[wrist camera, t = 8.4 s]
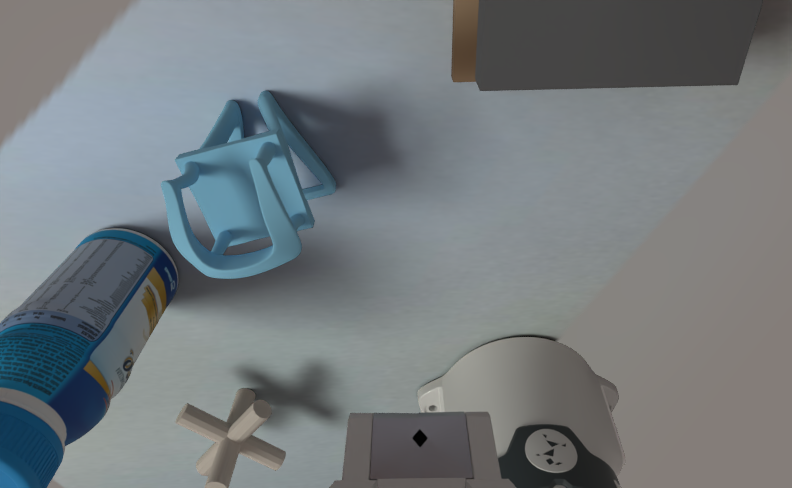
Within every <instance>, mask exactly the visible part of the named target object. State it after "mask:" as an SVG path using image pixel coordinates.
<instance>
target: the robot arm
mask: <svg viewBox="0 0 792 488" xmlns="http://www.w3.org/2000/svg"><path fill="white" fill-rule="evenodd" d="M417 396H418V402H419V406H420V409H421V413H350V416H349V419H348V427H347V436H346V446H345V456H344V465H343V475H342V480H337V481H334V483H333V484H332V485H331V486H330V487H329V488H622V487H621V486H620V484H619V481H618V479H617V476H618V475H619V473H620V471H621V469H622V466H623V465H625V455H624V451H623V449H622V445H621V442H620V439H619V436H618V432H617V429H616V427H615V423H614V420H613V417H612V414H611V412H612V411H613V409H614V407H615V405H616V403H617V401H618V399H619V396H618V392H617V389H616V387H615V385H613V384H612V383H611V382H609V381H608V380H606V379H604V378H602V377H600V376H598V375H596V374H595V373H594V372H593V371H592V370H591V368H590V367H589V365H588V364H587V362H586V361H585V360H584V359H583V358H582V357H581V356H580V355H579V354H578V353H577V352H575V351H574V350H573V349H571V348H569V347H568V346H565V345H563V344H561V343H558V342H555V341H552V340H548V339H543V338H536V337H516V338H508V339H503V340H498V341H494V342H491V343H488V344H486V345H483V346H481V347H479V348H477V349H475V350H473V351H471V352H470V353H468V354H466V355H465V356H464V357H462V358H461V359H460V360H459V361H458V362H457V363H456V364H455V365H454V366H453V367H452V368H451V369H450V370H449V371H448V372H447V373H446V374H445V375H443V376H442V377H440V378H438V379H436V380H434V381H432V382H430V383H428V384H426V385H424V386H423V387H421V388H420V389H419V391H418V393H417ZM431 405H433V406H431Z"/></svg>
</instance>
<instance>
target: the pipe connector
mask: <svg viewBox="0 0 792 488" xmlns="http://www.w3.org/2000/svg"><path fill="white" fill-rule="evenodd" d="M254 400H255V393H254V392H253V391H252V390H250V389H247V388H243V389H240V390H238V391H237V393H236V396H235V399H234V402H233V405H232V408H231V411H230V414H229V417H228V420H227V422H224V421H222V420H220V419H218V418H216V417H214V416H212V415H210V414H208V413H206V412H204V411H202V410H200V409H198V408H196V407H194V406H192V405H190V404H188V403H187V404H186V405H185V406H184V407H183V408H182V410H181V411H180V413H179V415H178V417H177V419H176V423H177V424H179V425H181V426H183V427H185V428H187V429H189V430H191V431H193V432H196V433H198V434H200V435H202V436H204V437H206V438H208V439H210V440H212V441H214V442H215V443H214V444H213V445H212V446H211V447H210V448H209V449H208V450H207V451H206V452H205V453H204V454H203V455H202V456H201V457H200V459H199V460H198V461H197V463H196V468H197V470H198V472H199V473H200V474H201V475H204V476H208V475H209V476H208V479H207V482H206V485H205V488H228V487H229V484H230V481H231V477H232V474H233V470H234V467H235V464H236V460H237V457H238V454H239V453H240V454H242V455H244V456H246V457H248V458H250V459H252V460H254V461H256V462H258V463H261V464H263V465H265V466H267V467H269V468H271V469H273V470H275V471H276V470H278V469H279V468H280V467H281V465H282V463H283V461H284V459H285V455H286V452H285V451H283V450H281V449H279V448H277V447H275V446H273V445H271V444H269V443H267V442H265V441H263V440H261V439H259V438H257V437H255V436H253V435H252V434H253V433H254V432H255V431H256V430H257V429H258V428H259V427H260V426H261V425H262V424H263V423H264V422H265V421H266V420H267V419H268V418H269V417H270V415H271V414H272V411H271V407H270V405H269V404H268V403H267V402H266V401H264V400H256V401H255V402H254Z"/></svg>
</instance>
